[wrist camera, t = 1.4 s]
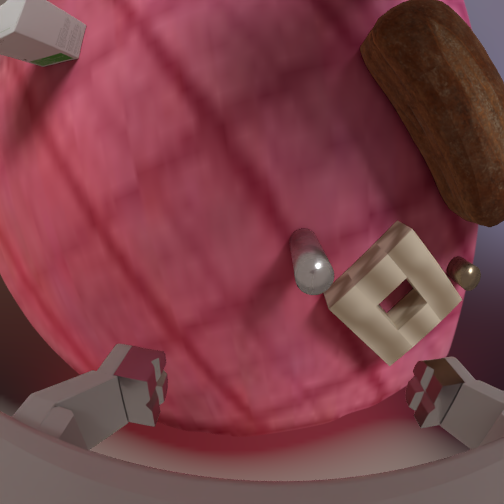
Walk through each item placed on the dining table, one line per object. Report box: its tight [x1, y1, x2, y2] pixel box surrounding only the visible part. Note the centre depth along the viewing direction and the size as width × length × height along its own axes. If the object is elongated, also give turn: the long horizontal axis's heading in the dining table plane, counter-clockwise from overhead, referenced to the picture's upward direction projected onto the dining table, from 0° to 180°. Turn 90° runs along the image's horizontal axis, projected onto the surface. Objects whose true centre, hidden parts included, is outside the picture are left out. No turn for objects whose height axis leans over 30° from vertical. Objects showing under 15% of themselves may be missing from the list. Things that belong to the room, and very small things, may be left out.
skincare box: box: [0, 0, 86, 67], centre depth 25 cm, size 8×7×16 cm
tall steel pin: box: [289, 228, 334, 295], centre depth 33 cm, size 4×4×12 cm
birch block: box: [323, 221, 462, 366], centre depth 38 cm, size 14×14×5 cm
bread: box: [360, 0, 504, 227], centre depth 26 cm, size 14×28×12 cm, turn 35°
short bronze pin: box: [447, 256, 481, 291], centre depth 36 cm, size 4×4×4 cm
